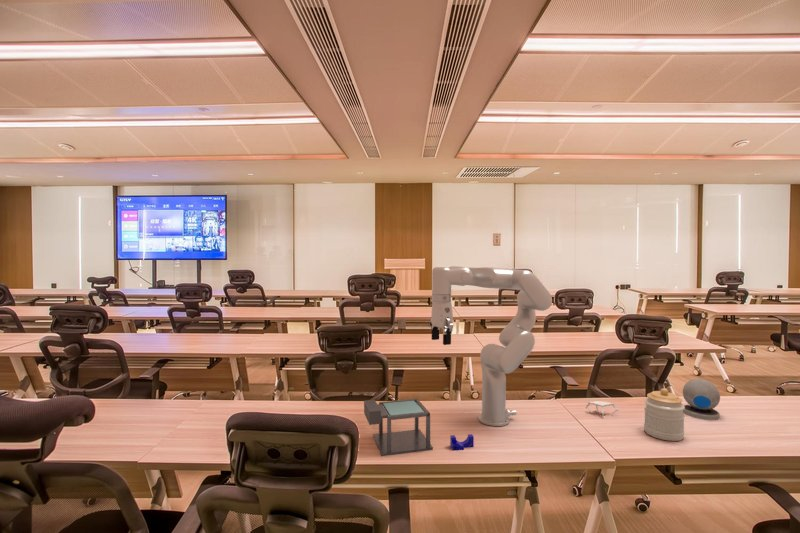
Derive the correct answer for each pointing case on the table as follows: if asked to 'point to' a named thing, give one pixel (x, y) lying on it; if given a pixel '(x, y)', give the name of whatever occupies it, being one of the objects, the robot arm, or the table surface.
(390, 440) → the stand
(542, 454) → the table surface
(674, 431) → the jar
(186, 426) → the table surface
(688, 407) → the webcam
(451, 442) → the cable holder
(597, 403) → the white legged frame
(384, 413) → the trapdoor
